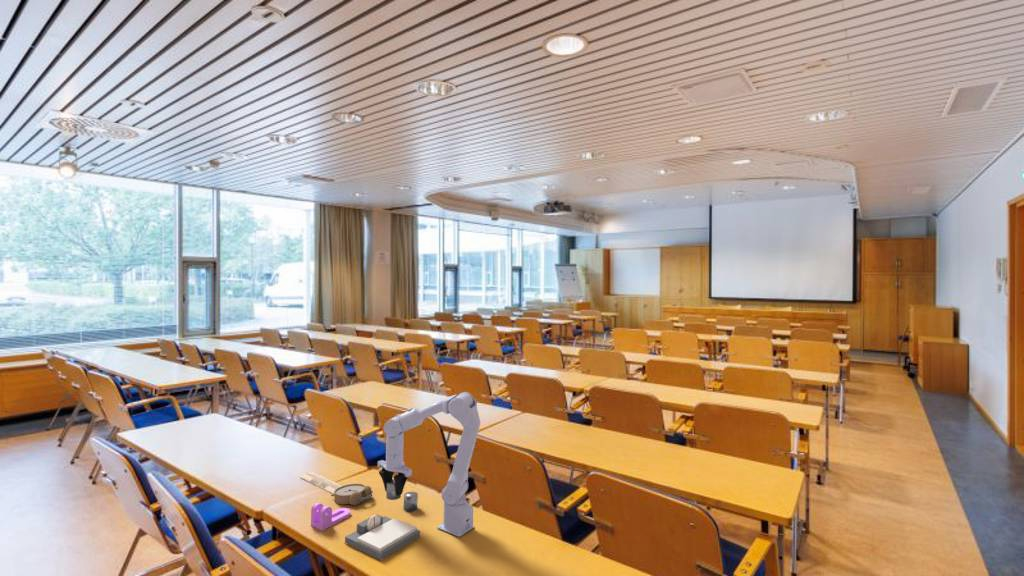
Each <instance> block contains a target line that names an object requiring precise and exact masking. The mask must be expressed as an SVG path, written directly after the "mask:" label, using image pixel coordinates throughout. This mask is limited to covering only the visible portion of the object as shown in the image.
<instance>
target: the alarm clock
mask: <svg viewBox="0 0 1024 576" xmlns="http://www.w3.org/2000/svg"><path fill="white" fill-rule="evenodd" d="M373 493H374V491H373V490H372V487H371V486H370V485H365V484H363V483H348V484H344V485H342V486H341V487H339V488H337V489H336V490H335V491H334V494H332V493H331V495H330V496H331V497H333V498H334V499H333V501H334V503H336V504H337V505H351V506H354V507H355V506H358V505H360V504H361V503H362V502H363V501H366V500H369V499H371V498H372V497H373Z"/></svg>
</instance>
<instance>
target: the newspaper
mask: <svg viewBox="0 0 1024 576" xmlns="http://www.w3.org/2000/svg"><path fill="white" fill-rule="evenodd" d="M300 479H302V480H304V481H306V482H308V483H310V484H312V485H314V486H316V487H318V488H320V489H322V490H324V491H326V492H328V493H330V494H331V495H332V494H334V491H335V490H336V489H337V488H339V487H341V486H343V485H341V484H339V483H337V482H335V481H333V480H331V479H330V478H329V479H328V478H326V477H324V476H323V475H320V474H318V473H316V472H313V471H312V472H306V473H305V474H302V475H301V476H300Z"/></svg>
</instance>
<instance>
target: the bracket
mask: <svg viewBox="0 0 1024 576" xmlns="http://www.w3.org/2000/svg"><path fill="white" fill-rule="evenodd" d="M350 516H351V509H350V508H347V507H341V508H337V509H335V510H333V508H332V507H330V506H329V505H325V506H324V505H323V503H321V502H316V503H314V504H313V505H312V506H311V510H310V526H311V527H312V526H313V527H312V528H315V527H316V528H315V529H317V528H318V529H317V530H319V529H320V530H319V531H322V530H323V531H324V529H325V530H326V528H327V529H328V527H329V528H330V527H332V526H334V525H336V524H338V523H339V522H342V521H344V520H346V519H348V518H349V517H350ZM345 518H346V519H345ZM343 519H344V520H343Z"/></svg>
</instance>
